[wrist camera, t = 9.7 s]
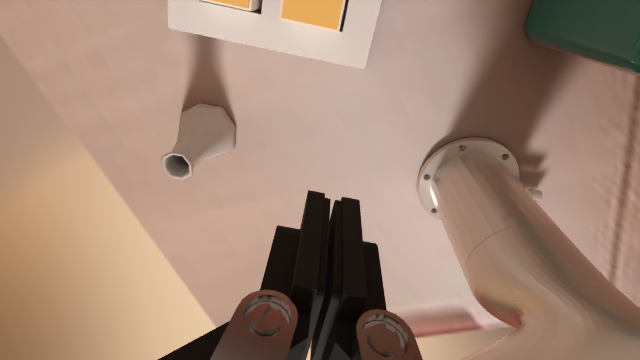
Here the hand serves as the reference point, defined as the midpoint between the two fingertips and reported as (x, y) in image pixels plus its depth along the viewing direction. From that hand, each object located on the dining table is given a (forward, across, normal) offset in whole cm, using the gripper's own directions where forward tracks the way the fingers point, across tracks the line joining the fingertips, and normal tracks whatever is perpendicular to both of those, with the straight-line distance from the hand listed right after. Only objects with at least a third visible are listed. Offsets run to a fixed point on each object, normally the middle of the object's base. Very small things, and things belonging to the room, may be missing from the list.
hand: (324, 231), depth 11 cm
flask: (+31, +14, +12) cm, 36 cm away
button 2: (+27, +3, -6) cm, 28 cm away
